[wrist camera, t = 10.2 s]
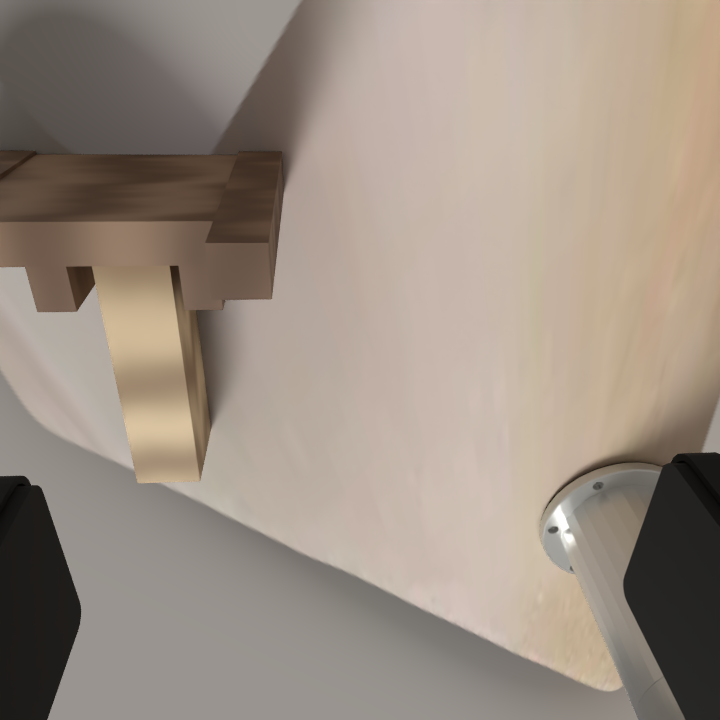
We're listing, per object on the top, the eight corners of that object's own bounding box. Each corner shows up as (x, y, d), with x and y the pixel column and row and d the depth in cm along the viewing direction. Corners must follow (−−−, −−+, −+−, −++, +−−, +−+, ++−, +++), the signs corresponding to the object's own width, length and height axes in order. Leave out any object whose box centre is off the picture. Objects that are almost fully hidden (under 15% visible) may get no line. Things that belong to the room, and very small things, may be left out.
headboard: (281, 151, 36) (268, 242, 24) (286, 261, 40) (276, 387, 28) (-10, 150, 35) (-173, 245, 23) (21, 263, 39) (-106, 395, 27)
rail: (113, 202, 37) (85, 236, 32) (183, 202, 37) (165, 237, 33) (154, 430, 46) (137, 482, 41) (210, 429, 46) (200, 481, 42)
